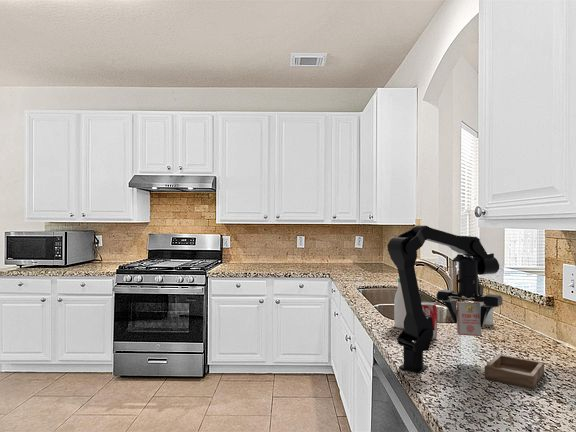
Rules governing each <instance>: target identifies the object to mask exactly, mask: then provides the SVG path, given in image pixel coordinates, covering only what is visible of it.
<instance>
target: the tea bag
mask: <svg viewBox="0 0 576 432" xmlns="http://www.w3.org/2000/svg"><path fill="white" fill-rule="evenodd" d="M456 308H457V323H456V334H457V335H458V336H468V337H469V336H471V337H482V327H481V323H480V319H481V309H480V303H474V302H469V301H467V302H465V301H464V302H462V301H457V305H456Z"/></svg>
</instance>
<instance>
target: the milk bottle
mask: <svg viewBox="0 0 576 432" xmlns="http://www.w3.org/2000/svg"><path fill="white" fill-rule="evenodd" d="M397 284H398V286H397V288H396V289H397V290H396V292H395V294H394V303H393V305H394V306H393V307H394V309H393V310H394V314H393V315H394V327H395V328H398V329H402V330H403V329H404V319H405V316H406V309H405V304H404V299H403V294H402V289H401V284H400V279H399V277H398V278H397Z"/></svg>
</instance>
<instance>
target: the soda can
mask: <svg viewBox="0 0 576 432" xmlns="http://www.w3.org/2000/svg"><path fill="white" fill-rule="evenodd" d="M421 304H422V309H423V313H424V314H425V315H426V316H429V317H431V318H432V322H433V328H434V329H435V330H433V338H432V340H431V341H434V340H436V338H437V337H438V307H437V305H436V304H437V303H436V302H432V301H421Z"/></svg>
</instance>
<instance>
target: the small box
mask: <svg viewBox="0 0 576 432" xmlns="http://www.w3.org/2000/svg"><path fill="white" fill-rule="evenodd" d="M473 299H475V298H473ZM473 303H480V309H481V306H482V305H484V304H483V302H476V301H473ZM484 325H485V326H488V325H490V326H491V325H492V326H493V325H494V308H492V309H490V311H489V313H488V315H487V318H486V320H485V323H484Z"/></svg>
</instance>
